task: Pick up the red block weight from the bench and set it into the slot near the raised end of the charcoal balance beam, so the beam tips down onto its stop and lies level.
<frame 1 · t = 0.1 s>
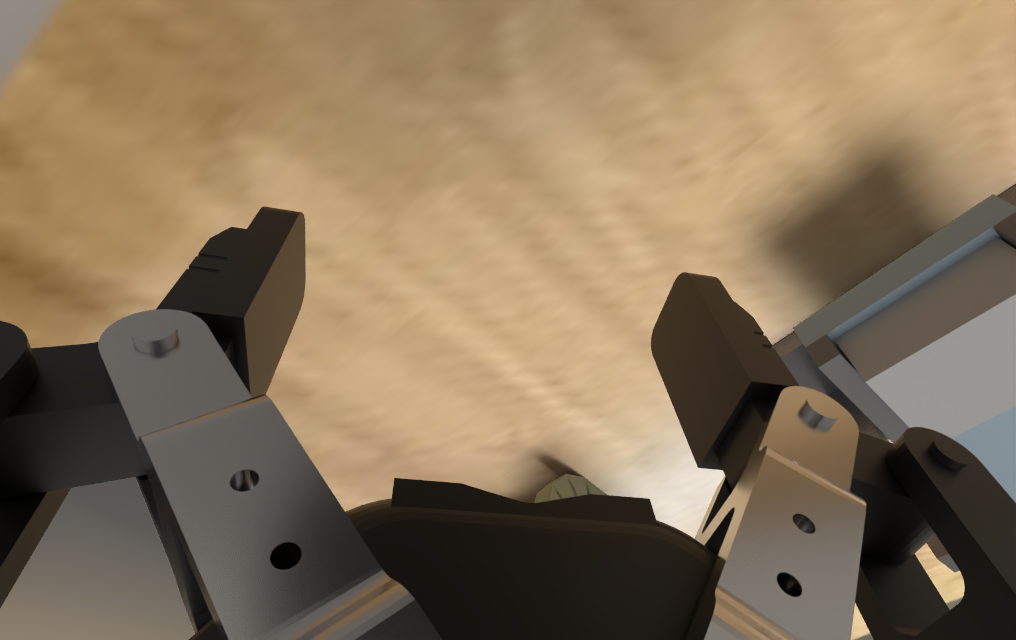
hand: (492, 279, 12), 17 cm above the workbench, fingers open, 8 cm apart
spool: (516, 521, 50), on the workbench
pivot stand: (925, 332, 37), on the workbench
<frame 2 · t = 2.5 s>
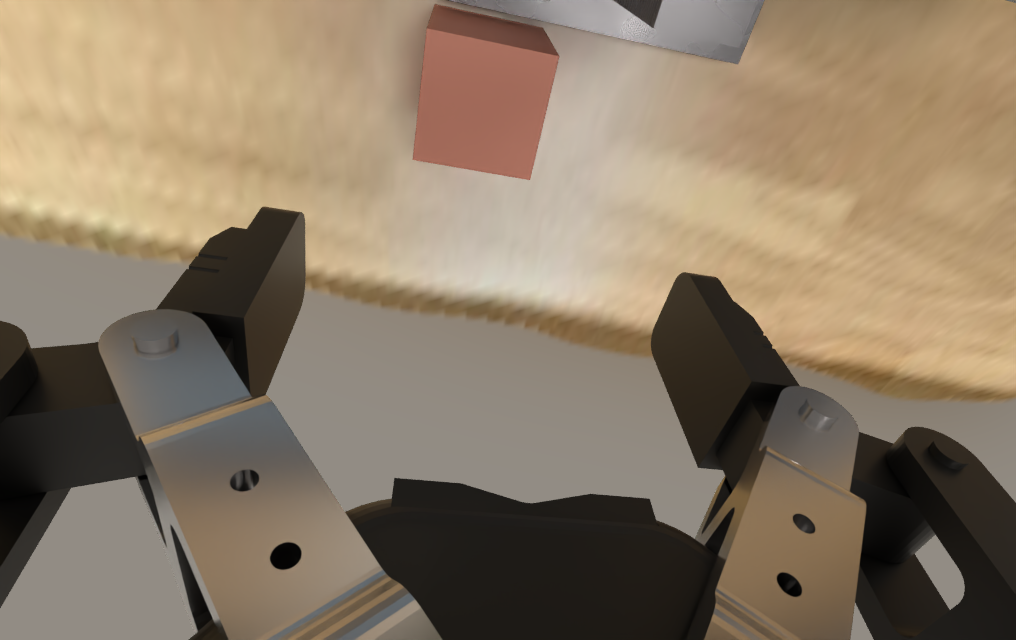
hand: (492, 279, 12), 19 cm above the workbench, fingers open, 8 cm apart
red block weight: (480, 73, 27), on the workbench
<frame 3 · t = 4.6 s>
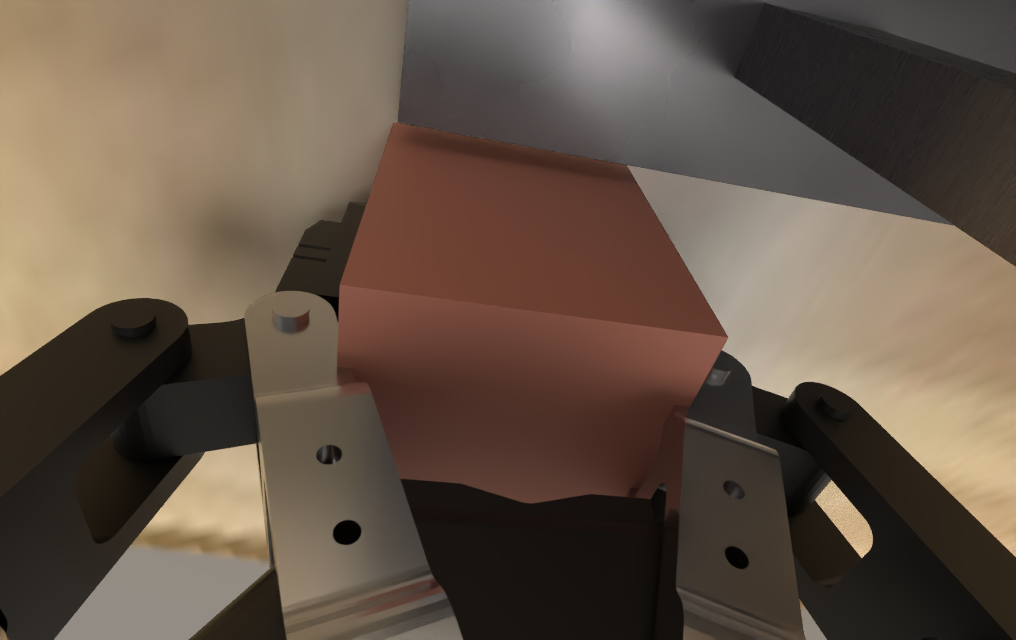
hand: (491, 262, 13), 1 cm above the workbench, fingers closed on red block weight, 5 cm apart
red block weight: (492, 247, 13), on the workbench, touching gripper
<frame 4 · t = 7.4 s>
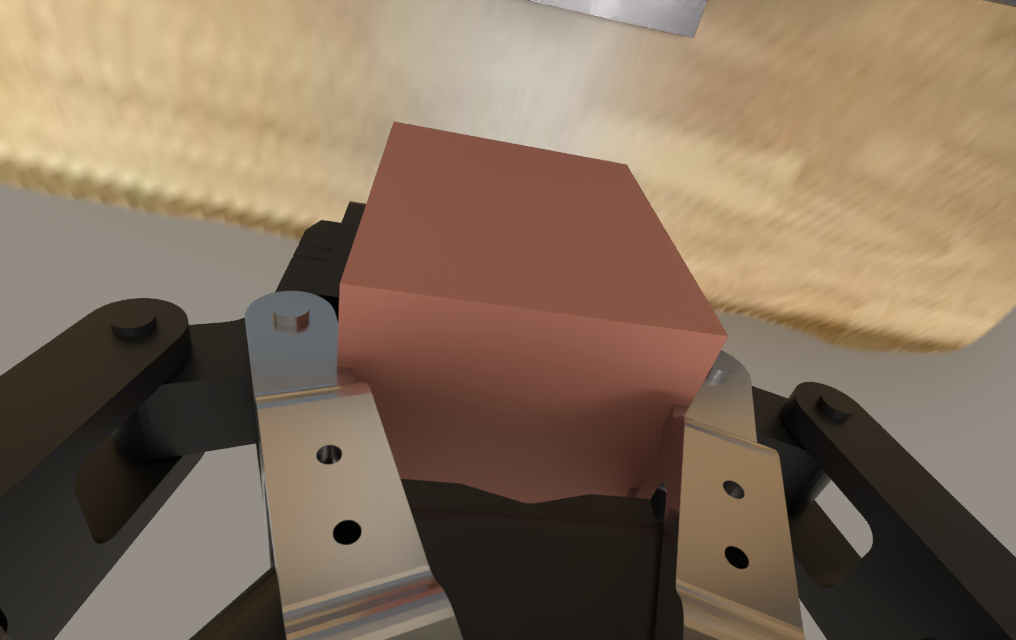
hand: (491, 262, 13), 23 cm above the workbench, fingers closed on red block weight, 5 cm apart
red block weight: (492, 246, 13), point 22 cm above the workbench, touching gripper
when the fingers open (15 cm above the workbench, at t = 10.1 s): red block weight drops 1 cm, resting on balance beam.
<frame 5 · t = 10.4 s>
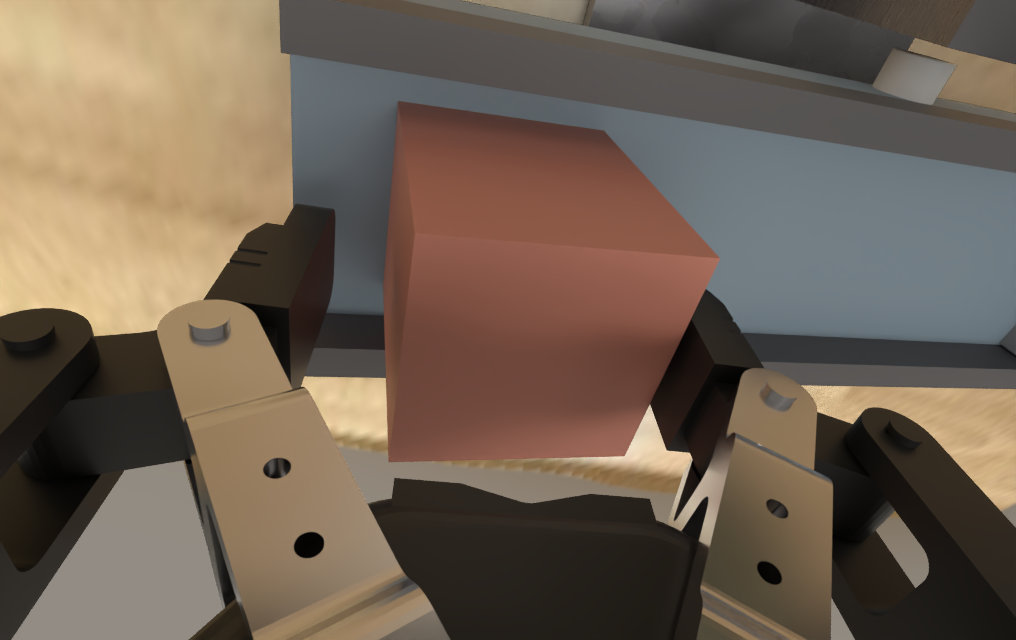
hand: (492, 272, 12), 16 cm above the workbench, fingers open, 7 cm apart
balance beam: (848, 260, 17), point 12 cm above the workbench, hinge at -7.5°, touching red block weight
red block weight: (487, 212, 15), point 13 cm above the workbench, tilted 7°, touching balance beam
pivot stand: (703, 126, 27), on the workbench
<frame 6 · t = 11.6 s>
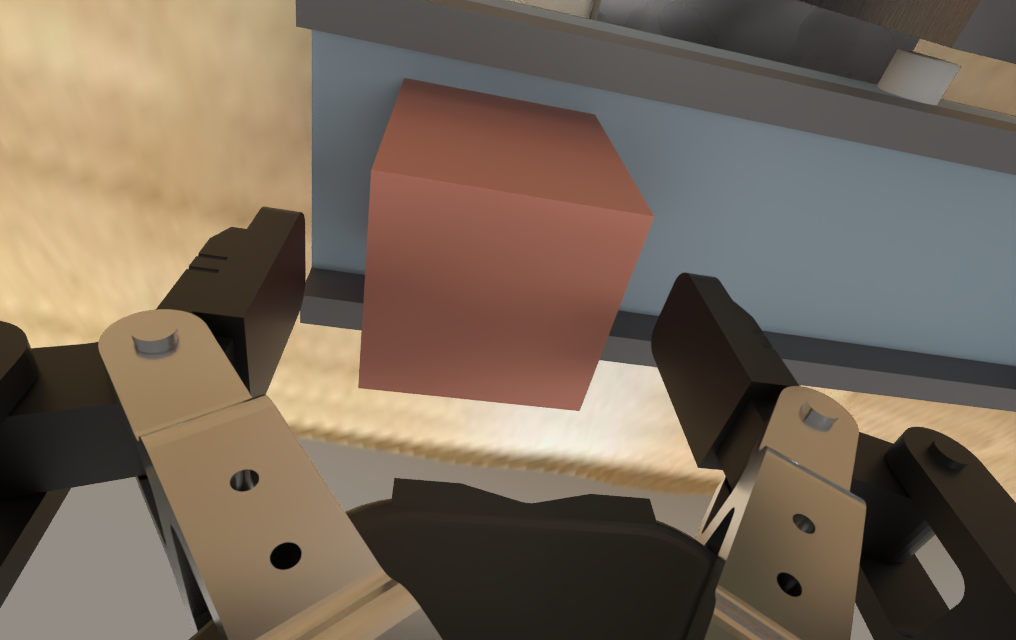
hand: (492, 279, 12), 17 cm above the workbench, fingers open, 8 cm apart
balance beam: (847, 258, 17), point 12 cm above the workbench, hinge at 0.1°, touching red block weight
red block weight: (485, 186, 16), point 12 cm above the workbench, touching balance beam
pivot stand: (708, 126, 27), on the workbench
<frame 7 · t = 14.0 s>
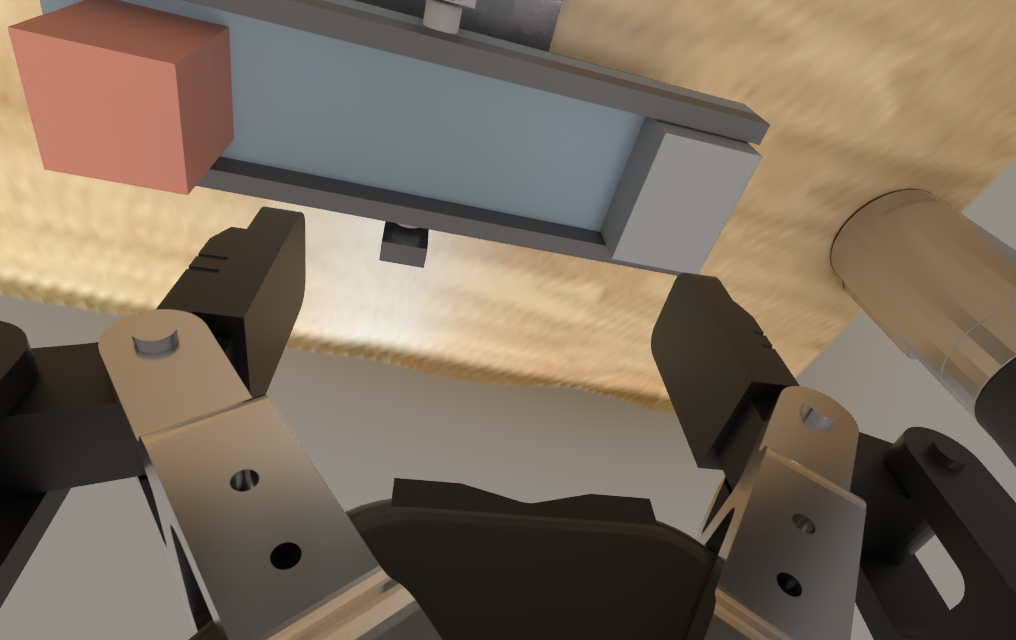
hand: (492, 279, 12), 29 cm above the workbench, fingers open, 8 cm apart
balance beam: (423, 135, 27), point 12 cm above the workbench, hinge at 0.1°, touching red block weight
red block weight: (171, 72, 25), point 12 cm above the workbench, touching balance beam
pivot stand: (430, 64, 37), on the workbench
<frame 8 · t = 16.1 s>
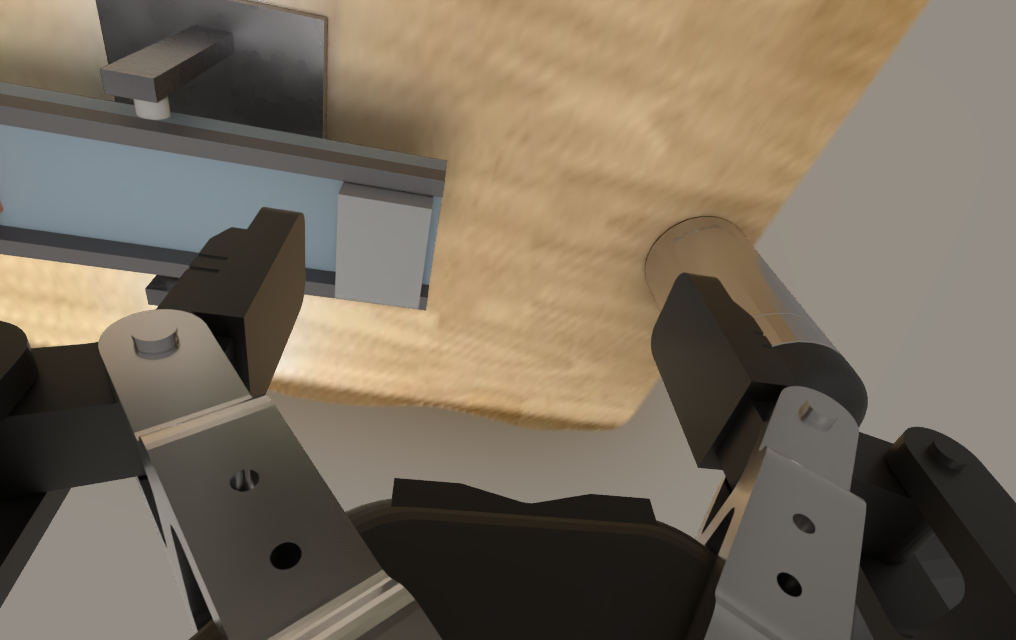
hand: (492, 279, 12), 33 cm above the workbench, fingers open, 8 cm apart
balance beam: (154, 201, 32), point 12 cm above the workbench, hinge at 0.1°, touching red block weight
pivot stand: (229, 129, 42), on the workbench
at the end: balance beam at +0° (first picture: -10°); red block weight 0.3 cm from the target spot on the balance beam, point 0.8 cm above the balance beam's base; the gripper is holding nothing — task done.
